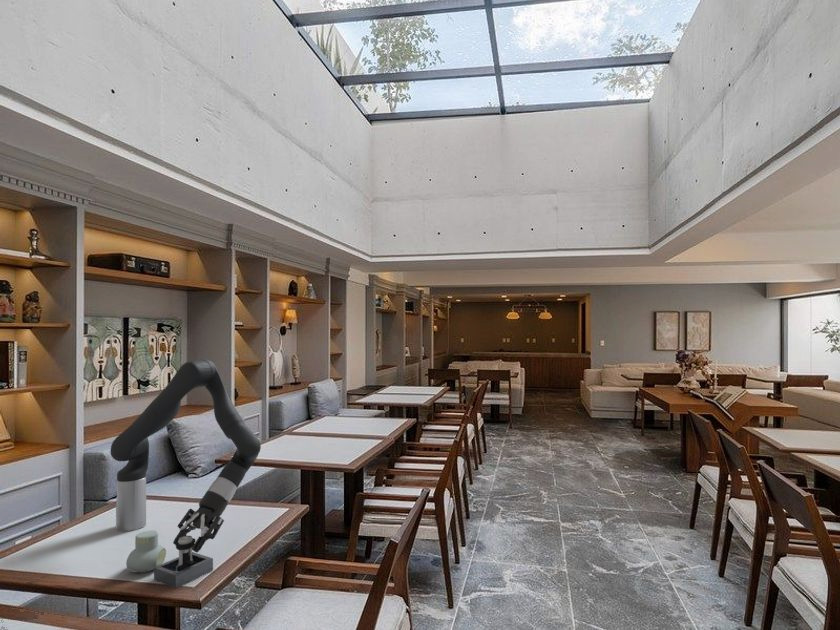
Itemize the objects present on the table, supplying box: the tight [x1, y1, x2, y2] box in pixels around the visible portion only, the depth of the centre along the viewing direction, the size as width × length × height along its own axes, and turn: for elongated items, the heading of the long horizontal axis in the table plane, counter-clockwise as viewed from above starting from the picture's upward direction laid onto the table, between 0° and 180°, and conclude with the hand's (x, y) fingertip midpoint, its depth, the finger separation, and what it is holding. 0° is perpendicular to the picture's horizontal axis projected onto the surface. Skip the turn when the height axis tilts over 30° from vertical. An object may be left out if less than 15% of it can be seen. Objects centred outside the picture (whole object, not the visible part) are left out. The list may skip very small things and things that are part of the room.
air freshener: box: [125, 530, 167, 573], centre depth 152 cm, size 11×8×10 cm
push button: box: [174, 535, 196, 572], centre depth 148 cm, size 7×5×10 cm
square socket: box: [153, 551, 214, 589], centre depth 147 cm, size 10×12×4 cm
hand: (184, 548), depth 148 cm, fingers open, 8 cm apart
